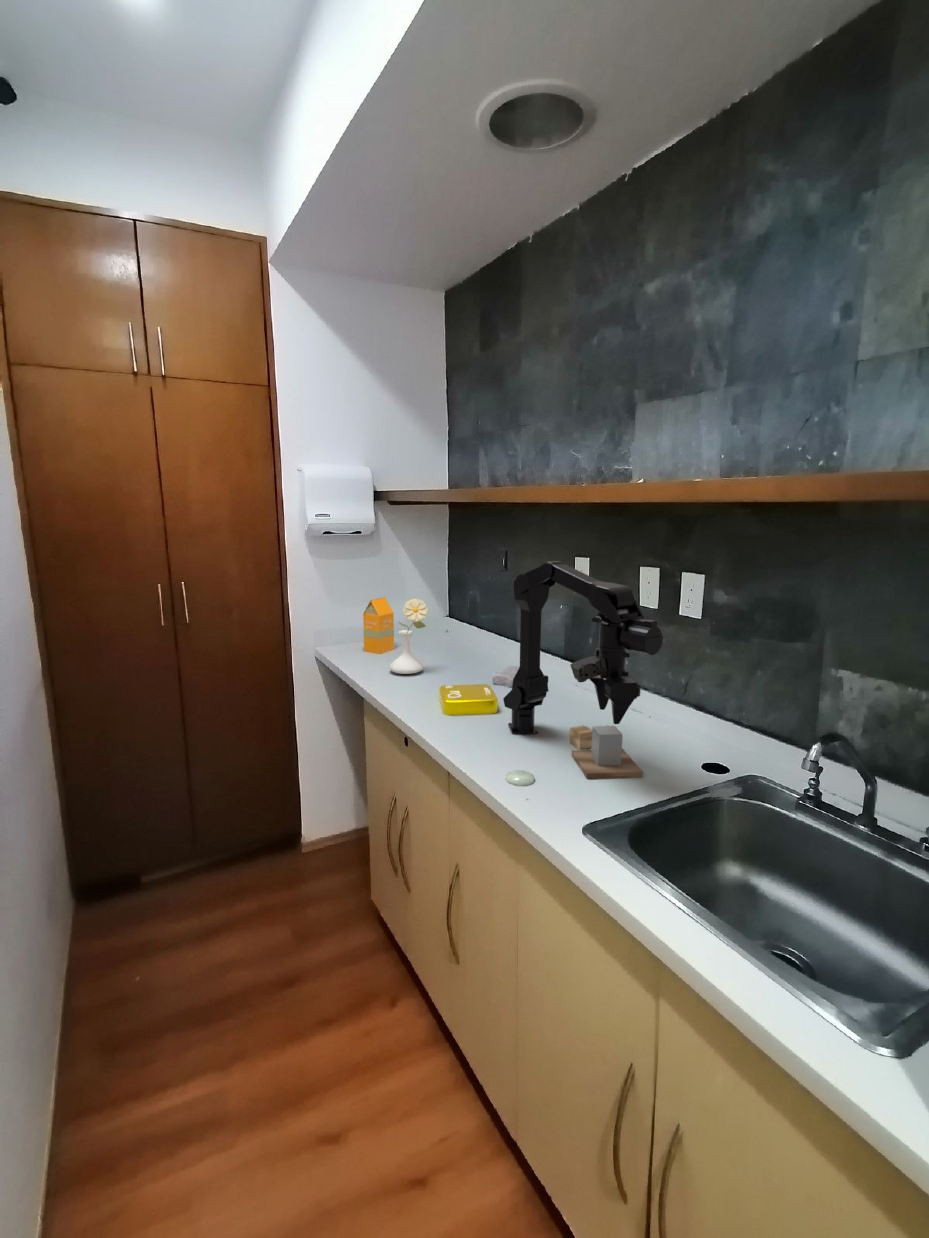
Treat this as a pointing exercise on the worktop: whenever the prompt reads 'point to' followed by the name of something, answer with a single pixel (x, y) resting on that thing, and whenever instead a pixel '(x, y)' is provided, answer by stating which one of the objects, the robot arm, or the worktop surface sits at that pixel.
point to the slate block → (606, 745)
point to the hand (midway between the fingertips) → (609, 716)
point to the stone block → (505, 676)
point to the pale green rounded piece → (519, 778)
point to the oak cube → (581, 737)
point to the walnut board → (608, 771)
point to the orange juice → (378, 627)
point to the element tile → (467, 699)
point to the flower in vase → (406, 661)
